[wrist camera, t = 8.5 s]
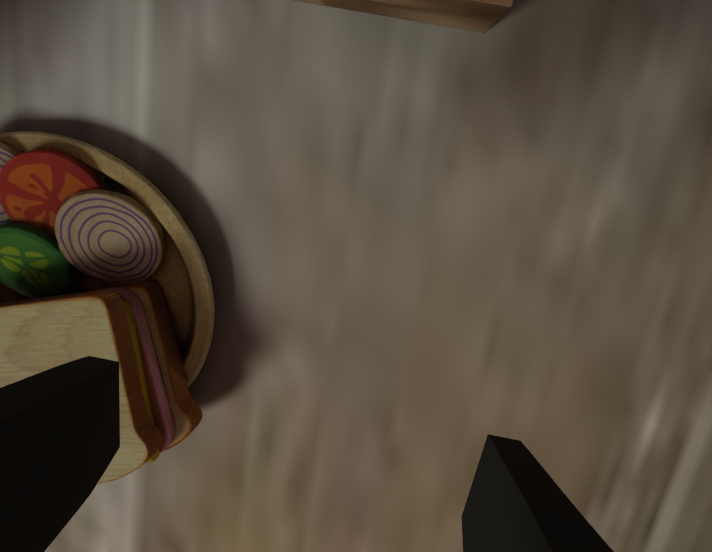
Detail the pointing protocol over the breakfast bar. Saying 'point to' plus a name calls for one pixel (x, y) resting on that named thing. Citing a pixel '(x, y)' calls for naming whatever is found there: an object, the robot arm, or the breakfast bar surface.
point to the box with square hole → (431, 10)
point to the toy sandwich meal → (102, 285)
